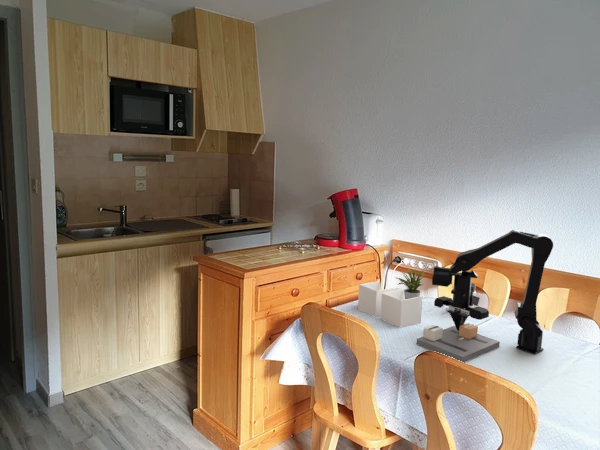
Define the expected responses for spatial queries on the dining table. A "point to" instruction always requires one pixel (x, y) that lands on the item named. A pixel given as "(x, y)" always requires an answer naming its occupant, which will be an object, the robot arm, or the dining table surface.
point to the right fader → (468, 331)
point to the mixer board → (459, 345)
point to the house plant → (411, 284)
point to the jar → (473, 293)
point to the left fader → (433, 332)
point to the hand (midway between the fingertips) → (458, 330)
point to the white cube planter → (389, 304)
